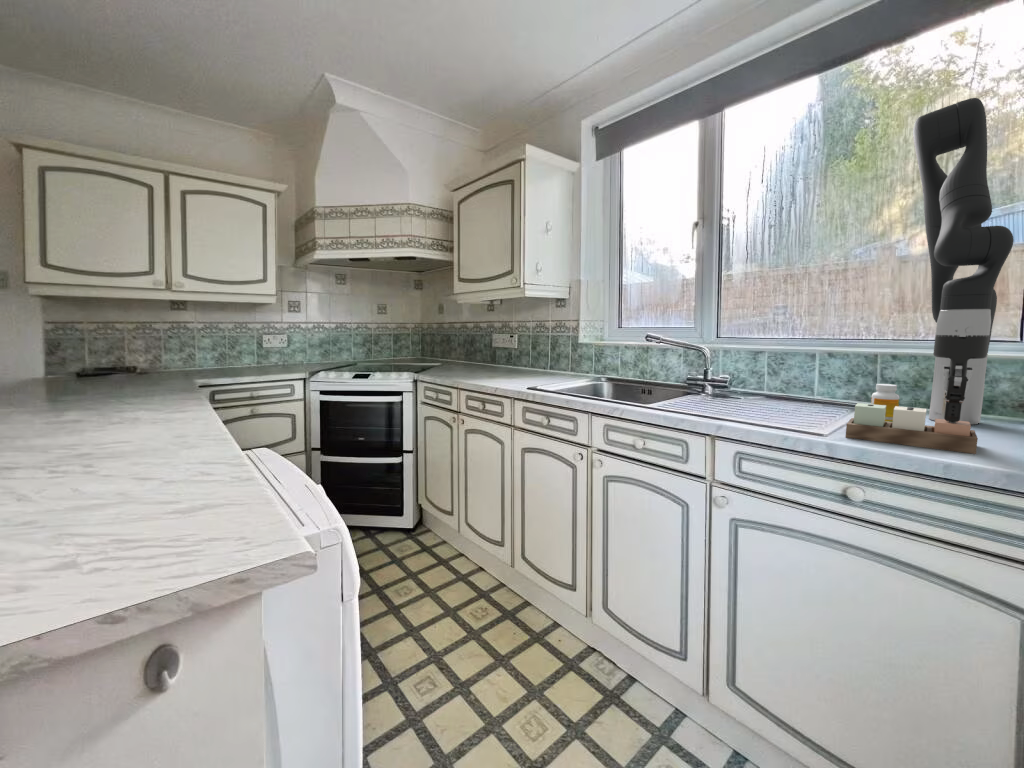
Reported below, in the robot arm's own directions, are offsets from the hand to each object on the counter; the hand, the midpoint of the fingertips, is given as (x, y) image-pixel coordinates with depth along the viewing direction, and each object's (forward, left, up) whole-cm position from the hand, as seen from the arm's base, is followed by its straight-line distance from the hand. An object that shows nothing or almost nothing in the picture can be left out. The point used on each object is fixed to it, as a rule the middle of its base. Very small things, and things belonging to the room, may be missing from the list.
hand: (951, 420), depth 91 cm
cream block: (+3, -6, -2) cm, 7 cm away
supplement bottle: (-11, -20, -5) cm, 23 cm away
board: (+3, -6, -5) cm, 8 cm away
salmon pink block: (0, 0, -4) cm, 4 cm away
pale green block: (+6, -11, -2) cm, 13 cm away
